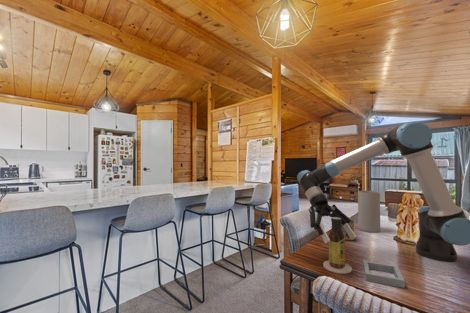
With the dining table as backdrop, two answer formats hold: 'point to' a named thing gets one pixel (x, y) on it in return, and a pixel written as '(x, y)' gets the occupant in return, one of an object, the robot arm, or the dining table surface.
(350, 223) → the chalk box
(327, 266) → the coaster
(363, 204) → the cylinder vase
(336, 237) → the sauce bottle
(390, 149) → the robot arm
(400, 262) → the dining table surface
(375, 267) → the pocket frame
